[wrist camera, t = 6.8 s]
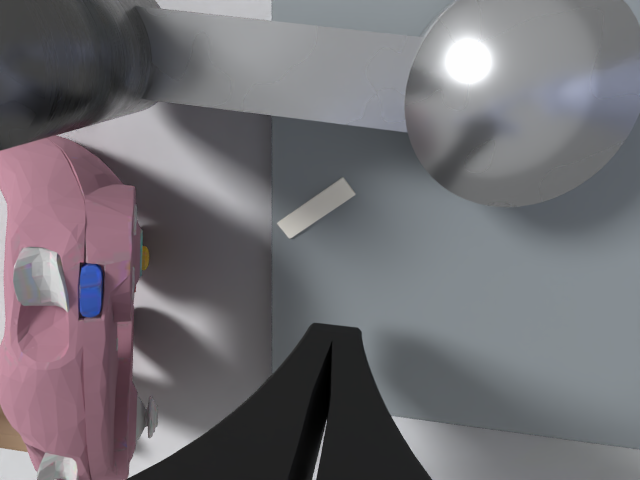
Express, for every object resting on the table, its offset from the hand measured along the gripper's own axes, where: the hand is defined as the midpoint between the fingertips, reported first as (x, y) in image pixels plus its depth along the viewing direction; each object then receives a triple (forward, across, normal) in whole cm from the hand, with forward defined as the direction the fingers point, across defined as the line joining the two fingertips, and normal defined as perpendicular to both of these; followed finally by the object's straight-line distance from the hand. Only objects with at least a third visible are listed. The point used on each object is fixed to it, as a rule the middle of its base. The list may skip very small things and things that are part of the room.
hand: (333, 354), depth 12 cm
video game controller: (+3, +8, 0) cm, 8 cm away
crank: (+2, +1, -7) cm, 7 cm away
